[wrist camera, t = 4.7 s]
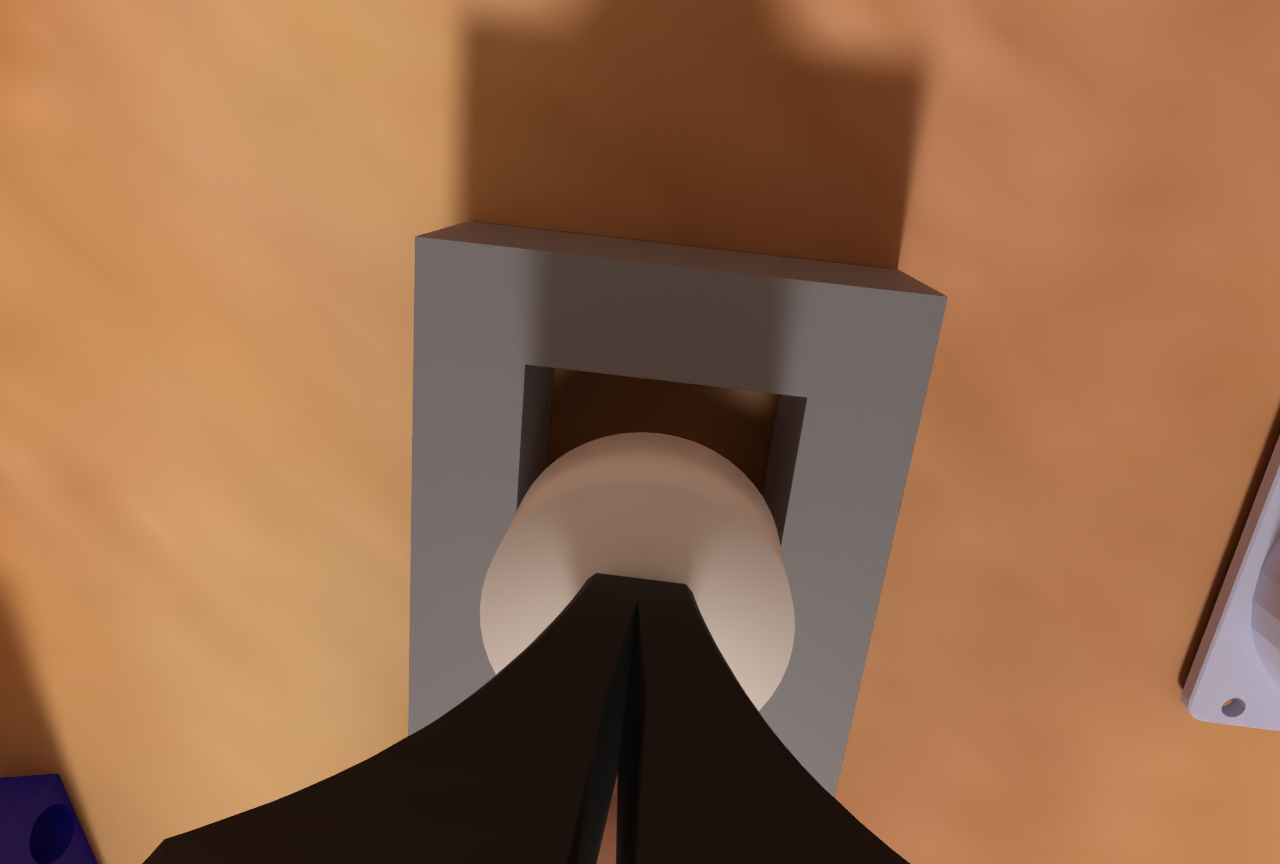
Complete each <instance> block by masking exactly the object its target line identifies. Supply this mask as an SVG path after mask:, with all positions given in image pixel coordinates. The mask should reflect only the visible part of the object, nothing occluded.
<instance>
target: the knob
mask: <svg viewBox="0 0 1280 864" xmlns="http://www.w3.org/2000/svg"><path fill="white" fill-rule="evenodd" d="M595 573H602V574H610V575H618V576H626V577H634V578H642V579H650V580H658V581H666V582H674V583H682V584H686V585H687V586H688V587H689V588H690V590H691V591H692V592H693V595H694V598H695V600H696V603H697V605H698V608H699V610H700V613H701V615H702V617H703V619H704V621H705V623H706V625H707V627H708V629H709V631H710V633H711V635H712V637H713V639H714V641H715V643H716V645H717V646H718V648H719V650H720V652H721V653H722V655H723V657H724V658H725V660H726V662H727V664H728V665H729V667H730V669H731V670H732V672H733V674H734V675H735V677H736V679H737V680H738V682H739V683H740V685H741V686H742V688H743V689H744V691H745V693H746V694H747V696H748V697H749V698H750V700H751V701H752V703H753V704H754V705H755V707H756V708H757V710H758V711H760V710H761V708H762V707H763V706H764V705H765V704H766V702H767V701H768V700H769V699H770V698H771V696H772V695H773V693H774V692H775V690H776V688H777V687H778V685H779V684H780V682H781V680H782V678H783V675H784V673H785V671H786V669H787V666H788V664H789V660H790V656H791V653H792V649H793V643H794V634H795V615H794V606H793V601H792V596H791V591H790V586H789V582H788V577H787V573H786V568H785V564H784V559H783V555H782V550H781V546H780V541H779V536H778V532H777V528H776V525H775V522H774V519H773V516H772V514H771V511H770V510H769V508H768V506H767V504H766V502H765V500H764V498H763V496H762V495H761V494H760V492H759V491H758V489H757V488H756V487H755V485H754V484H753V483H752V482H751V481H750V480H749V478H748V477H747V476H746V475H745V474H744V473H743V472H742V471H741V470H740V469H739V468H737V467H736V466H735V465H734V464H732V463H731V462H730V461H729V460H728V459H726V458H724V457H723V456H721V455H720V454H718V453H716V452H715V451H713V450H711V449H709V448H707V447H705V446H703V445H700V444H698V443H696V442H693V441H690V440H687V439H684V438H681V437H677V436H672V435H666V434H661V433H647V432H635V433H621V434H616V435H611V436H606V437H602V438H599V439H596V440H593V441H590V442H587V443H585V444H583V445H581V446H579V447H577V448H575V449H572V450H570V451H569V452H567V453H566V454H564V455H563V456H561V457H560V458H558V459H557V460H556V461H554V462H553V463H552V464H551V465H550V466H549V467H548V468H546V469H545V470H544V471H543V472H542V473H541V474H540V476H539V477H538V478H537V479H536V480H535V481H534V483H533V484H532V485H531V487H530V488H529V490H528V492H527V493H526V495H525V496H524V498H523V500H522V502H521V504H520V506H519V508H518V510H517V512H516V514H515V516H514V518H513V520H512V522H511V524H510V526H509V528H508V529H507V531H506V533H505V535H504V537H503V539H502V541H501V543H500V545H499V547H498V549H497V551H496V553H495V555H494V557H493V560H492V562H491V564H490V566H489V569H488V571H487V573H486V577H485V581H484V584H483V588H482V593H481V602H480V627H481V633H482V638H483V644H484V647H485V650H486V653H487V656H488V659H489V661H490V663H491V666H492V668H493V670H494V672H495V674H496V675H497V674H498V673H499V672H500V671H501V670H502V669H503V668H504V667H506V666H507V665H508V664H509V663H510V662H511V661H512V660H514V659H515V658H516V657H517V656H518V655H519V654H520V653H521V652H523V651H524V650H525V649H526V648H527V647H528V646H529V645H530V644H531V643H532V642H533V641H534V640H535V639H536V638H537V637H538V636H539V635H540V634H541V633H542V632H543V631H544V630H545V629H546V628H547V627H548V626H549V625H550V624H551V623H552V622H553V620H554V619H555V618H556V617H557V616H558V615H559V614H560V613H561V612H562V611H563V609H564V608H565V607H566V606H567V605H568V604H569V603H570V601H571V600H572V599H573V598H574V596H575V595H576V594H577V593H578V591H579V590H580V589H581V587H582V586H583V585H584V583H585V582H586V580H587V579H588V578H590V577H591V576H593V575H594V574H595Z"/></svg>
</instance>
